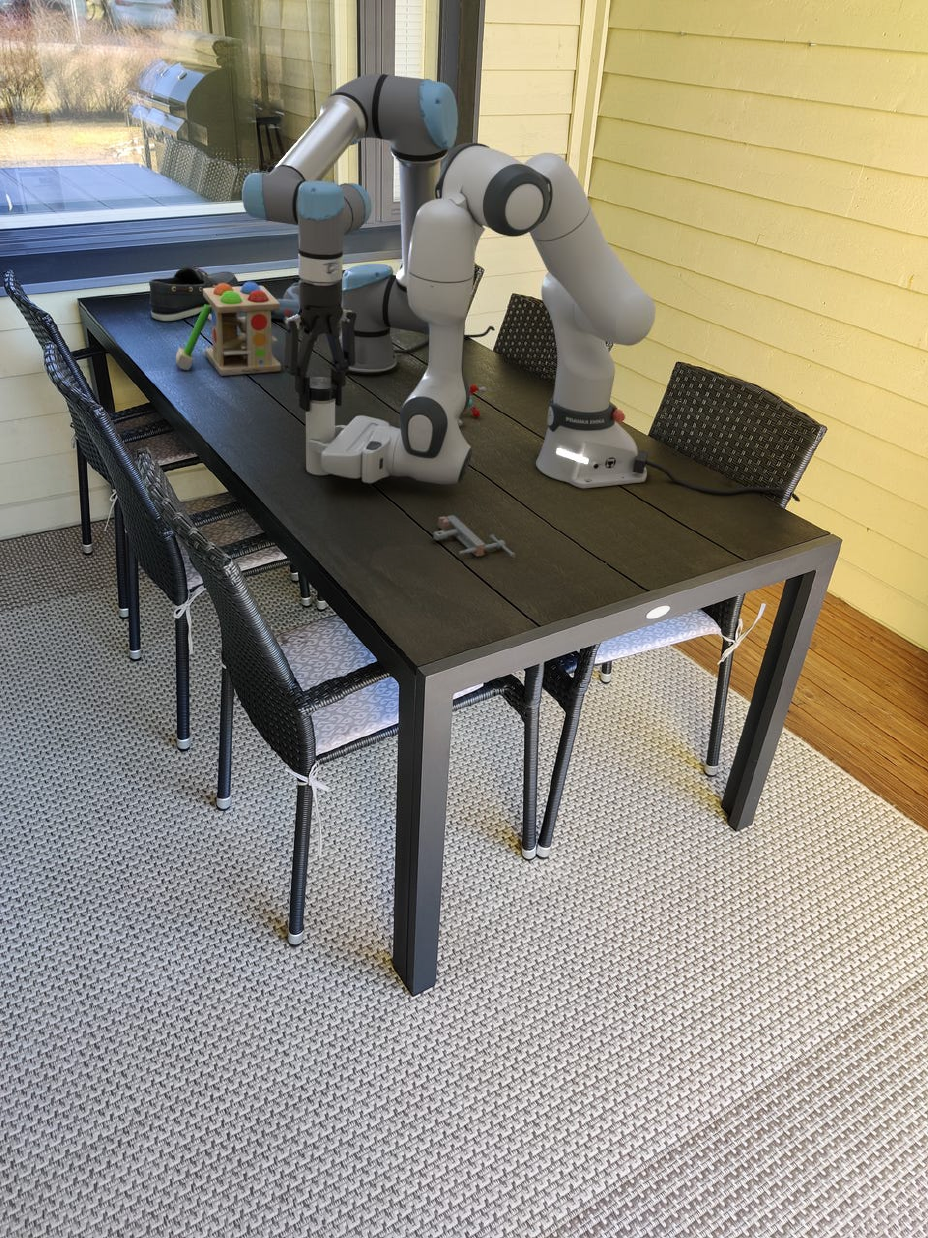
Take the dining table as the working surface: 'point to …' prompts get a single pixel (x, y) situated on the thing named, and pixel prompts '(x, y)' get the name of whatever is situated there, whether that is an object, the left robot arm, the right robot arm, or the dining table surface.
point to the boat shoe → (184, 292)
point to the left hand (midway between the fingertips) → (320, 405)
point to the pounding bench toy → (229, 347)
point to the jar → (319, 431)
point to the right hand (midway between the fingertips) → (315, 436)
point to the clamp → (466, 537)
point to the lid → (322, 389)
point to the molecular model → (475, 412)
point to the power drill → (288, 303)
